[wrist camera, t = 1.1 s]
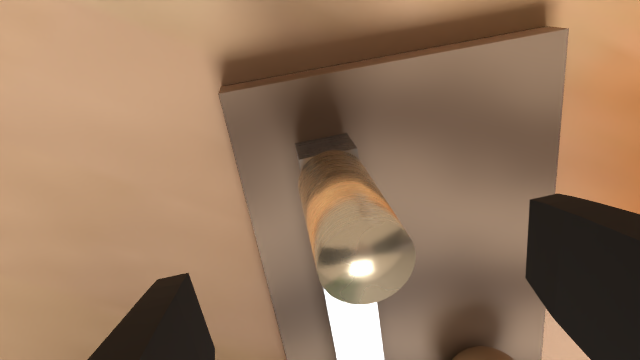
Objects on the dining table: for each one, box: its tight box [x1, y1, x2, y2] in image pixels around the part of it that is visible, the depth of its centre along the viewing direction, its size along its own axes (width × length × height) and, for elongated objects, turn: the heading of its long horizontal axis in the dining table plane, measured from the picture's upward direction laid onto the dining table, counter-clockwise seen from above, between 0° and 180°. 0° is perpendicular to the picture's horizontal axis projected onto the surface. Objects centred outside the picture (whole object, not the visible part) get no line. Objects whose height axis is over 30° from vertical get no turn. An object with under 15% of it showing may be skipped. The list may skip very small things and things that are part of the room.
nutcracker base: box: [219, 27, 569, 360], centre depth 17 cm, size 20×12×4 cm, turn 9°
